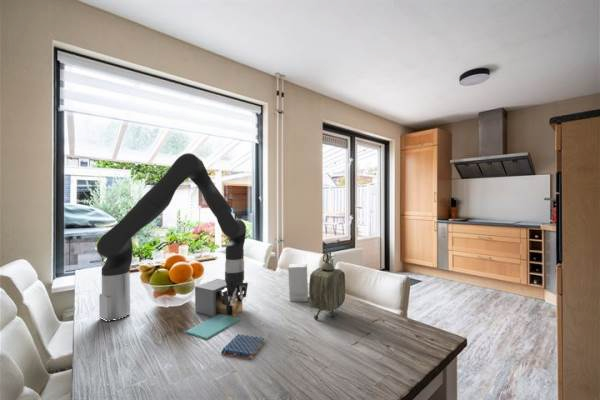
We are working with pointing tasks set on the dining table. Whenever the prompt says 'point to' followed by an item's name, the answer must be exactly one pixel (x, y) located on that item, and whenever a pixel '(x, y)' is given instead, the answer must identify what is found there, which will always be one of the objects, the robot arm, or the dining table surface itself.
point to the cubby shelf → (208, 296)
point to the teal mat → (212, 326)
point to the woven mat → (243, 346)
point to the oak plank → (222, 308)
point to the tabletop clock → (326, 287)
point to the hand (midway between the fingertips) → (234, 311)
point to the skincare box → (298, 282)
